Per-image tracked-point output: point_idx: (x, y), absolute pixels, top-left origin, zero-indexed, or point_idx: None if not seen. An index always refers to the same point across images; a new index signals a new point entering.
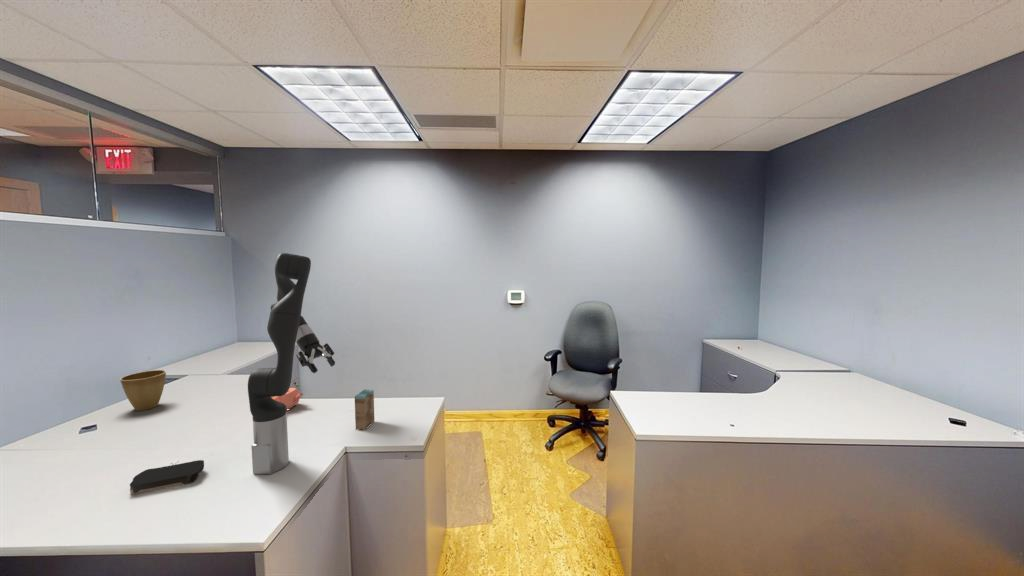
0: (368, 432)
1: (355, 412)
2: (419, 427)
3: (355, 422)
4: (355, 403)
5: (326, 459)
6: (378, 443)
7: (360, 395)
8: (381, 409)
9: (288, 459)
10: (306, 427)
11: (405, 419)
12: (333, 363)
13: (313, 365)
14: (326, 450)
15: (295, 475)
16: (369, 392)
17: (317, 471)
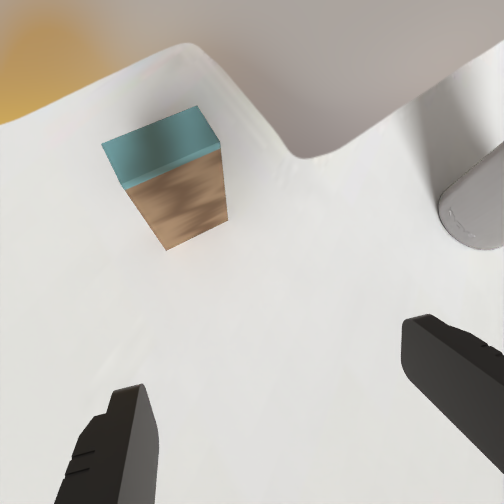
0: None
1: (223, 186)
2: (117, 89)
3: (226, 208)
4: (220, 162)
5: (365, 141)
6: (241, 107)
7: (195, 129)
8: (55, 293)
9: (445, 192)
10: (324, 395)
11: (91, 154)
12: (137, 390)
13: (500, 366)
14: (346, 179)
15: (439, 137)
16: (142, 129)
17: (398, 115)
